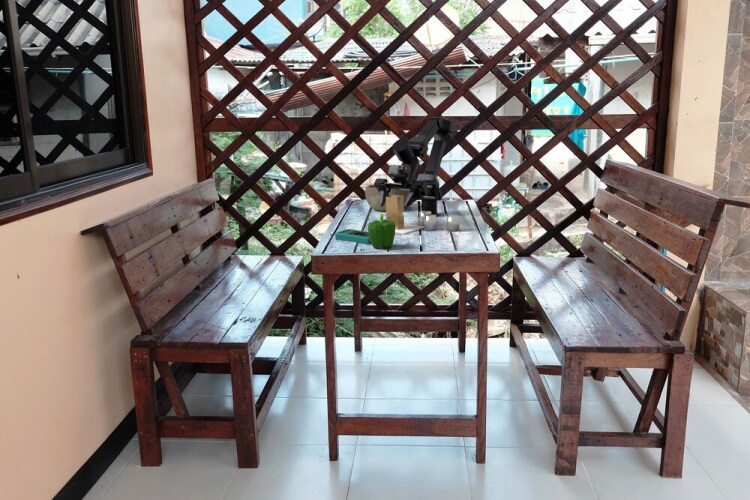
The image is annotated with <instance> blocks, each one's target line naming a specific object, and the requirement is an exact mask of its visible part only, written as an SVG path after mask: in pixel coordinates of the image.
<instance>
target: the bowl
mask: <svg viewBox="0 0 750 500" xmlns="http://www.w3.org/2000/svg"><path fill="white" fill-rule="evenodd" d="M364 190H365V192H364V194H365V200H366V203H367V204H368V206H369V207H370V208H371V209H373V210H375V211H378V212H386V202H385V204H384V205H383V207H381V206H380V193H379V192H378V190H377V188H376V187H375V185H374V184H370V185H366V187H365V189H364ZM409 193H410V190H400V189H391V191H390V193H389V196H391V195H400V196H404V206H405V202H406V200H407V198H408V195H409Z"/></svg>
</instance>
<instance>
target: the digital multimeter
mask: <svg viewBox="0 0 750 500" xmlns="http://www.w3.org/2000/svg"><path fill="white" fill-rule="evenodd" d="M334 237H335V238H334V239H335V240H337V241H344V242H352V243H357V244H362V245H372V244H371V242H370V239H369V235H368V231H365V230H358V229H352V228H347V229H343V230H339V231H337V232H336V233H335V236H334Z"/></svg>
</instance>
